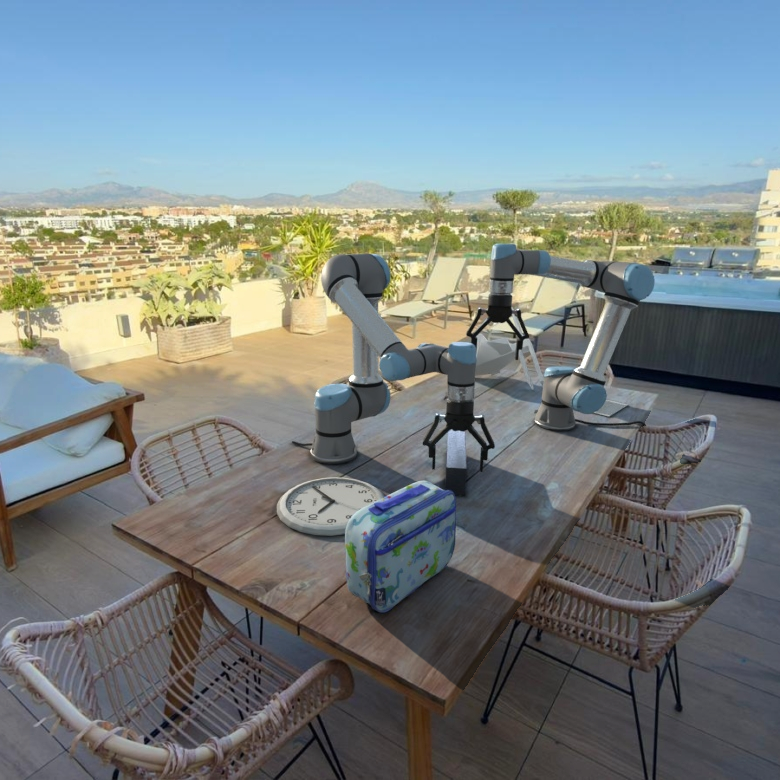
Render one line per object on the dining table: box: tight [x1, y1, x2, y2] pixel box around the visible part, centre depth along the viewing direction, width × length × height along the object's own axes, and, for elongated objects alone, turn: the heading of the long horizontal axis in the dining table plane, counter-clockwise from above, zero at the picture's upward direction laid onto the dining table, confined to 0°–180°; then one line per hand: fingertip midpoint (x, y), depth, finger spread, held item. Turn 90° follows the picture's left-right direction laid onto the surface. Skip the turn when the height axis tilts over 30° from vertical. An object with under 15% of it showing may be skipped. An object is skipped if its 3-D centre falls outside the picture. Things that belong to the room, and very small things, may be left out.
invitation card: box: [593, 399, 629, 418], centre depth 226 cm, size 21×1×15 cm
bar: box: [444, 429, 468, 497], centre depth 162 cm, size 29×6×9 cm, turn 173°
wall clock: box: [276, 476, 386, 537], centre depth 142 cm, size 30×2×30 cm
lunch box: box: [344, 480, 457, 614], centre depth 109 cm, size 26×11×21 cm, turn 135°
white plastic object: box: [475, 306, 544, 391], centre depth 259 cm, size 37×45×31 cm
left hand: (457, 469), depth 151 cm, fingers open, 13 cm apart
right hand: (495, 358), depth 173 cm, fingers open, 13 cm apart
